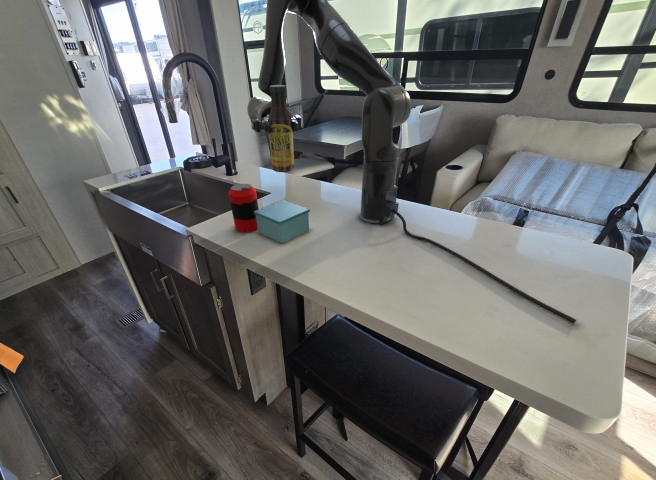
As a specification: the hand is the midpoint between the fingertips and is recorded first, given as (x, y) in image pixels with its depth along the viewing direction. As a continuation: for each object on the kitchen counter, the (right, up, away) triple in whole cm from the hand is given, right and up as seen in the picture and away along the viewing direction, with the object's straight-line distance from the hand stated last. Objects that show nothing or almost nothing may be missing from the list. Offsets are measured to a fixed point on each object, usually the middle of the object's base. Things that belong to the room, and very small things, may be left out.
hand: (282, 127), depth 79 cm
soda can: (-11, -23, +14) cm, 29 cm away
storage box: (-1, -24, +10) cm, 26 cm away
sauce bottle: (0, -8, +9) cm, 11 cm away
